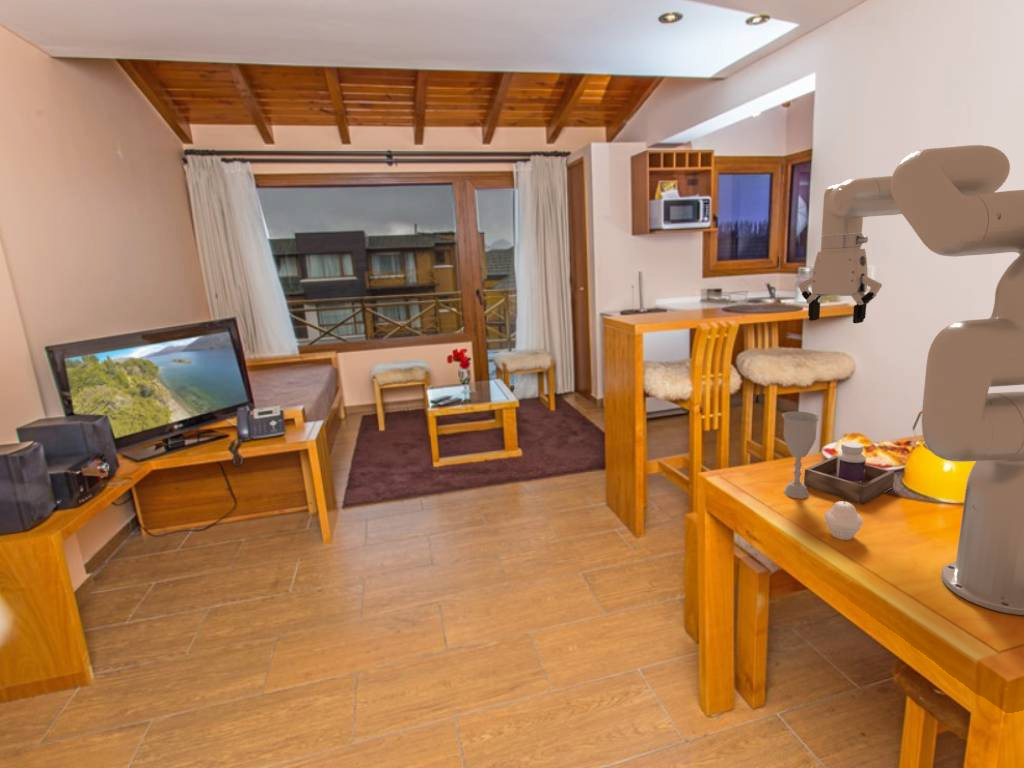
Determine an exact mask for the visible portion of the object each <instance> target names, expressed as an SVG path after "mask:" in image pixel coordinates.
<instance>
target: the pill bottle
mask: <svg viewBox="0 0 1024 768" xmlns="http://www.w3.org/2000/svg"><path fill="white" fill-rule="evenodd" d="M840 447H841V451H839V452H838V453H837V455H836V456H837V464H836V477H837V478H841V479H844V480H848V481H851V482H854V483H858V484H861V485H863V484H864V476H865V464H867V463H866V462H867V458H866V456H865V454H864V453H863V451H864V445H863V443H859V442H856V441H843V442H842V443H841V446H840Z"/></svg>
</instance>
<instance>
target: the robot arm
mask: <svg viewBox="0 0 1024 768" xmlns="http://www.w3.org/2000/svg"><path fill="white" fill-rule="evenodd" d="M1010 165H1011V163H1010V160H1009V158H1008V157H1007V155H1006V154H1005V153H1004V152H1003V151H1002V150H1000V149H999V148H996V147H994V146H990V145H982V144H977V145H976V144H973V145H971V144H970V145H960V146H959V145H958V146H957V145H956V146H949V147H947V146H946V147H936V148H935V147H934V148H925V149H919V150H918V151H914V152H913V153H912V152H911V153H910V154H909V155H907V156H906V157H904V158H903V159H902V160H901V161H900V163H898V165H897V166H896V168H895V169H894V171H893V173H892V175H885V176H875V177H874V176H873V177H866V178H865V177H863V178H853V179H848V180H846V181H844V182H842V183H840V184H835V185H831V186H829V187H827V188H826V189H825V191H824V195H823V207H822V221H821V222H822V223H821V237H820V238H821V239H820V250H819V251H817V253H816V257H815V260H814V264H813V269H812V271H813V272H812V277H810V278H807V280H805V281H803V282H800V283H799V284H798V288H799V290H800V292H801V296H802V297H803V298H804V300H806V303H807V304H808V311H807V312H808V313H807V314H808V321H810V322H811V321H812V322H813V321H817V320H819V319H820V315H821V303H820V302H819V301H820V299H822V297H824V296H825V297H827V296H828V297H829V296H831V297H851V298H852V300H854V301H855V303H856V304H854V306H853V311H852V312H853V314H852V323H853V324H860V323H864V320H865V319H866V315H867V305H868V304H869V303H870V302H871V301H872V300H873V299H874V298H875V297H876V296H877V294H878V293H879V291H880V290H881V288H882V286H883V284H882V283H881V282H878V281H876V280H875V279H872V278H870V277H869V276H868V261H867V252H866V248H862V245H863V244H866V243H868V242H869V241H868V240H869V238H868V236H864V235H863V222H864V218H867V217H868V218H869V217H878V216H879V217H880V216H882V217H883V216H895V215H902V217H904V219H905V220H906V221H907V223H908V224H909V226H910V227H911V228H912V229H913V232H915V233H916V235H917V237H918V238H919V239H920V240H921V242H922V244H924V246H925V247H927V249H928V250H929V251H931V252H933V253H934V254H937V255H938V256H944V257H957V258H958V257H966V256H981V255H994V254H1005V253H1017V254H1019V255H1018V256H1017V258H1015V260H1013V262H1011V264H1010V265H1009V266H1008V267H1007V268H1006V270H1005V271H1004V273H1002V276H1001V277H1000V279H999V281H998V282H997V286H996V288H995V293H994V304H993V308H992V313H991V316H990V317H989V318H983V319H982V318H981V319H968V320H962V321H959V322H958V321H957V322H954V323H951V324H949V325H948V326H945V328H942V330H940V331H939V332H938V334H937V335H936V336H935V338H934V339H933V341H932V342H931V344H930V347H929V351H928V353H927V357H926V358H927V360H926V366H925V378H924V387H923V388H924V390H923V396H922V397H923V398H922V406H921V407H922V409H921V410H922V411H921V432H922V438H923V441H924V443H925V446H926V447H927V448H928V449H929V451H930V452H931V453H932V454H933V455H935V456H936V457H937V458H940V459H942V460H944V461H948V462H949V461H950V462H958V463H959V462H960V463H961V462H974V464H973V465H972V467H971V469H970V472H969V474H968V477H967V481H966V486H965V491H964V500H963V506H962V508H963V509H962V516H961V522H960V530H959V536H958V537H959V538H958V545H957V552H956V559H955V561H953V562H949V563H948V564H945V566H943V567H942V570H941V580H942V582H943V583H944V585H945V586H946V587H947V588H948V589H949V590H950V591H952V592H953V593H954V594H955V595H957V596H959V597H961V598H963V600H964V599H965V600H966V601H968V602H971V603H972V604H975V605H977V606H980V607H983V608H984V609H985V608H986V609H989V610H992V611H996V612H999V613H1004V614H1009V615H1010V614H1011V615H1016V616H1018V615H1019V616H1024V391H1005V392H990V393H989V390H990V388H991V387H1009V386H1011V387H1012V386H1023V385H1024V189H1019V190H1018V189H1017V190H1005V191H998V190H999V189H1000V188H1001V187H1002V186H1003V185H1004V183H1005V182H1006V180H1007V179H1008V177H1009V175H1010V170H1011V166H1010ZM809 286H811V291H810V290H809ZM868 287H870V289H869V291H868V292H867V289H868ZM866 292H867V293H866Z"/></svg>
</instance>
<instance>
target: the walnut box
mask: <svg viewBox="0 0 1024 768" xmlns="http://www.w3.org/2000/svg"><path fill="white" fill-rule="evenodd" d="M836 464H837V455H834V456H831V457H829V458H826V459H825V460H822V461H820V462H818V463H816V464H814V465H811V466H809V467H807V468H805V469H804V477H803V478H804V479H803V484H804V485H805V486H806V488H809V489H813V490H815V491H818V492H821V493H824V494H827V495H830V496H833V497H836V498H839V499H842V500H846V501H847V502H848V501H849V502H853V503H854V504H858V505H861V506H865V505H866V504H869V503H870V502H872V501H874V500H876V499H877V498H878V497H881V496H882V494H883V495H885V493H884V492H885V491H887V490H888V489H890V488H892V487H893V488H894V481H895V473H896V472H895V471H894V470H891V469H888V468H883V467H881V466H876V465H872V464H867V463H865V476H864V484H863V485H861V484H858V483H854V482H851V481H848V480H844V479H841V478H837V477H836Z"/></svg>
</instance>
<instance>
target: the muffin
mask: <svg viewBox="0 0 1024 768" xmlns="http://www.w3.org/2000/svg"><path fill="white" fill-rule="evenodd" d="M823 517H824V521H825V524H826V525H827V527H828V529H829V532H830V534H831V535H832V536H833V537H834V538H835V539H838V540H843V541H849V540H852V539H853V538H854V537H855V535H856V534H857V533H858V532H859V531H860V530H861V527H862V525H863V523H864V521H863V517H862V516H861V515H860V514H859V513H858V512H857V511H856V507H855V506H854V505H853V503H850V501H849V502H848V501H843V500H842V501H836V502H834V504H833V506H832V507H831V508H830V509H828V510H827V511H826V512H825V514H824V516H823Z"/></svg>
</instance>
